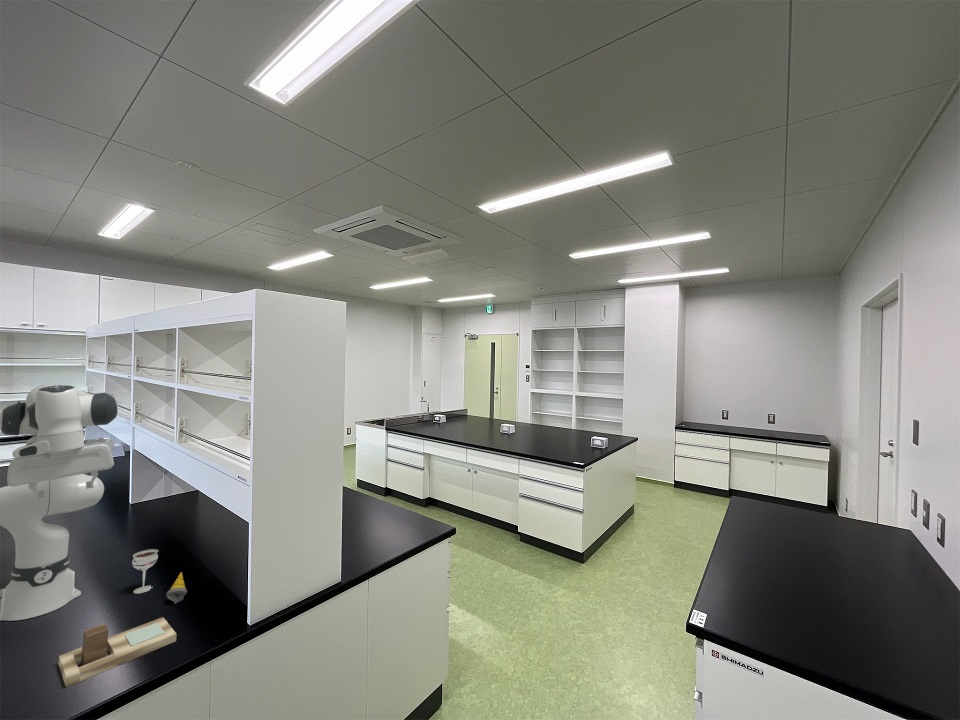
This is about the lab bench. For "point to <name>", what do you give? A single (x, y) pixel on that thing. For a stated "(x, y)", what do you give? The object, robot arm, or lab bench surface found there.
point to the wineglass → (144, 565)
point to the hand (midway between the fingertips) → (66, 493)
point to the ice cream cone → (177, 590)
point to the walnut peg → (94, 644)
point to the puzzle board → (118, 650)
